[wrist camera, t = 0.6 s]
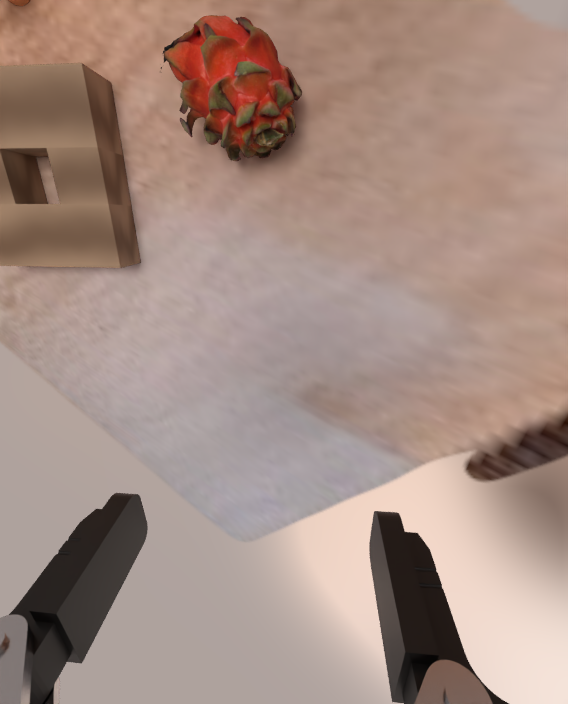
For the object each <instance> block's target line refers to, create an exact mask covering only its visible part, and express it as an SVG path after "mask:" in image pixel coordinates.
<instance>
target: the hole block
mask: <svg viewBox="0 0 568 704" xmlns="http://www.w3.org/2000/svg"><path fill="white" fill-rule="evenodd" d="M41 156H49V160H50V165H51V169H52V173H53V177H54V181H55V185H56V189H57V193H58V197H59V202H60V204H47V200H46V196H45V192H44V188H43V184H42V180H41V176H40V173H39V169H38V165H37V161H36V157H41ZM138 263H141V262H140V256H139V250H138V243H137V237H136V231H135V225H134V219H133V213H132V207H131V201H130V195H129V189H128V183H127V177H126V171H125V165H124V159H123V152H122V146H121V140H120V134H119V128H118V122H117V116H116V110H115V104H114V98H113V92H112V86H111V82H109V81H108V80H106V79H105V78H103V77H102V76H100V75H99V74H97V73H96V72H94V71H93V70H91V69H90V68H88V67H87V66H85V65H84V64H82V63H67V64H40V65H13V66H0V266H46V267H103V268H122V267H126V266H130V265H134V264H138Z"/></svg>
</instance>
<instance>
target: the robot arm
mask: <svg viewBox="0 0 568 704" xmlns="http://www.w3.org/2000/svg"><path fill="white" fill-rule="evenodd" d="M146 535H147V521H146V517H145V513H144V510H143V506H142V502H141V498H140V496H139V495H138V494H125V493H124V494H123V493H115V494H114V495H112V496H111V498H110V499H109V500H108V502H107V503H106V505H105V506H104V507H103V509H96V510H94V511H93V512H92V513H91V514H90V515H88V516H87V517H86V518H85V519H83V521H81V522H80V523H79V525H78V526H77V527H76V529H75V530H74V531H73V533H72V534H71V535H70V536H69V539H68V541H66V542H65V543H64V544H63V546H62V547H61V548H60V550H59V553H58V554H57V555H55V556H54V558H53V559H52V560H51V562H50V563H49V564H48V566H47V567H46V568H45V569H44V571H43V572H42V573H41V575H40V576H39V577H38V579H37V580H36V581H35V583H34V584H33V585H32V587H31V588H30V589H29V591H28V592H27V593H26V595H25V596H24V597H23V599H22V600H21V601H20V603H19V604H18V605H17V606H16V608H15V609H14V610H13V611H12V612H11V613H10V614H9V615H8V616H5V617H2V618H0V704H59V702H60V679H59V675H60V673H61V671H62V670H63V668H64V666H65V664H66V662H75V663H82V662H83V660H84V658H85V656H86V654H87V652H88V650H89V648H90V646H91V645H92V643H93V641H94V639H95V637H96V635H97V633H98V631H99V629H100V627H101V625H102V623H103V621H104V619H105V618H106V615H107V614H108V612H109V610H110V608H111V606H112V604H113V602H114V600H115V598H116V596H117V594H118V592H119V590H120V589H121V587H122V585H123V583H124V581H125V579H126V577H127V575H128V573H129V571H130V569H131V567H132V565H133V563H134V561H135V560H136V558H137V556H138V554H139V552H140V550H141V548H142V546H143V544H144V542H145V539H146ZM370 562H371V569H372V575H373V581H374V588H375V594H376V601H377V607H378V614H379V620H380V627H381V633H382V639H383V646H384V651H385V658H386V665H387V671H388V677H389V684H390V690H391V697H392V702H398V703H404V704H508V703H507V702H505V701H503V700H501V699H500V698H499V697H497V696H496V695H495V694H494V693H493V692H491V691H490V690H489V689H488V688H487V687H486V686H485V685H484V684H483V683H482V682H481V680H480V679H479V678H478V677H477V675H476V674H475V672H474V671H473V669H472V667H471V666H470V664H469V662H468V660H467V658H466V655H465V653H464V649H463V646H462V644H461V641H460V638H459V635H458V632H457V629H456V626H455V623H454V620H453V617H452V614H451V611H450V608H449V605H448V602H447V599H446V596H445V593H444V590H443V589H442V584H441V581H440V578H439V576H438V573H437V572H436V567H435V564H434V561H433V558H432V555H431V552H430V549H429V548H428V547H427V545H426V544H425V543H424V541H423V540H422V539H421V537H420V536H419V535H418V533H410V532H405V531H404V528H403V524H402V521H401V517H400V515H399V513H395V512H379V511H375V512H374V516H373V523H372V530H371V537H370Z"/></svg>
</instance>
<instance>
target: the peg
mask: <svg viewBox="0 0 568 704" xmlns="http://www.w3.org/2000/svg"><path fill="white" fill-rule="evenodd" d="M9 1H10V2H11V3H13V4H15V5H18V6H23V5H26V4H27V3H28V2H29V1H30V0H9Z"/></svg>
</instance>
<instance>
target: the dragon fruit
mask: <svg viewBox="0 0 568 704" xmlns="http://www.w3.org/2000/svg"><path fill="white" fill-rule="evenodd" d="M236 20H237V21H238V24H236V23H234V22H233V21H232V20H231V19H230V18H229V17H227V16H214V15H210V16H204V17H202V18H201V19H200V20H199V21H198V22H196V23H195V24H194V27H193V29H192V30H191V31H189V32H186V33H185V34H184V35H183V36H181V37H180V38H178V39H176V40H175V41H173V42H172V44H171V45H168V46H167V47H165V48H164V50H165V51H163V53H164V62H165V61H166V60H167V61H168V62H169V65H170V67H171V69H172V71H173V73H174V75H175V77H176V78H177V79H178V80H179V81H181V82H182V83H183V86H182V90H181V95H180V97H181V98H182V100H183V102H182V105H181V108H180V110H179V111H180V112H182V113H183V114H185V113H186V111H187V109H188V107H190V108H191V110H190V112H189V113H188V116H187V122H185V121H184V120H183V119H182V118H180V122H181V124H182V126H183V128H184V129H185V131H186V132H187V133H188V134H189V135H190V136H191V137H192V127H193V125H194V122H195V120H196V119H197V118H200V117H204V118H206V120H205V125H204V134H205V137H206V141H207V142H208V143H209V144H211V145H215V144H217V143H218V141H219V139H222V142H221V146H222V147H223V148H226V151H227V153H228V157H229V158H230V160H233V161H239V160H241V158H240V157H239V152H240V150H241V151H242V153H243V154H244V156H245V157H247V158H250V157H253V156H254V155H257V156H259V157H260V158H265V157H268V156H269V155H270V152H271V149H273V150H278V149H279V148H280V147H281V146H282V145H283V143H284V142H285V140H286V136H285V135H287V136H288V135H289V134H290V133H291V136H292V135H293V133H294V129H295V128H296V124H295V118H294V112H293V108H292V107H291V106H290V105H292V104H293V103H294V100H298V99H299V98H300V97H301V95H302V91H301V89H300V87H299V85H298V84H297V82H296V80H295V78H294V76H293V75H292V73H291V71H290V70H289V68H287V67H285V66H282V65H281V64H280V63H279V61H278V55H277V50H276V48H275V46H274V44H273V42H272V40H271V39H270V37H269V36H268V34H266V33H265V32H264V31H263V30H261V29H259V28H256V27H254V26H253V25H252V23H251V21H250V20H248V19H247V18H245V17H240V18H236ZM161 69H162V67H161ZM161 73H162V72H161ZM294 135H295V134H294Z"/></svg>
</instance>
